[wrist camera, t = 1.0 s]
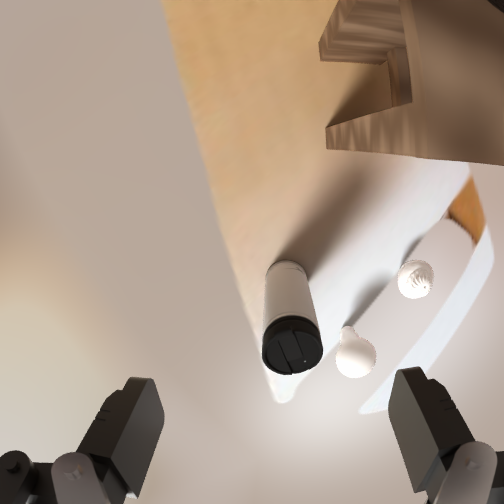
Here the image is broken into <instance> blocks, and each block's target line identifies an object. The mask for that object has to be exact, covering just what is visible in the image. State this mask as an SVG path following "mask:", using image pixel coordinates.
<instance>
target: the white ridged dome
mask: <svg viewBox="0 0 504 504" xmlns="http://www.w3.org/2000/svg"><path fill="white" fill-rule="evenodd" d="M432 283H433V270H432V268H431V266H430V265H429V264H428V263H426V262H424V261H419V260H412V261H409V262H406V263H404V265H402V266H401V268H400V270H399V273H398V287H399V290H400V292H401V293H402V294H403V295H404V296H406V297H408V298H419V297H422V296H425V295H426V294H428V293H429V290H431V287H432Z"/></svg>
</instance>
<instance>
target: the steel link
mask: <svg viewBox="0 0 504 504" xmlns="http://www.w3.org/2000/svg"><path fill="white" fill-rule="evenodd" d="M487 1H489V2H490V3H491V4H492V5H493V6H494V7H495V8H497V9H498V10H500V11H501V12H503V13H504V0H487Z"/></svg>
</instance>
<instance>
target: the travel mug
mask: <svg viewBox="0 0 504 504" xmlns="http://www.w3.org/2000/svg"><path fill="white" fill-rule="evenodd" d="M262 335H263V336H262V343H263V344H262V359H263V362H264V363H265V365H266V366H267V367H268V368H269V369H270V370H272V371H273V372H276V373H278V374H282V375H292V373H293V374H296V373H301V372H304V371H306V370H308V369H309V370H310V369H311V368H313V367H315V366H316V365H317V364H318V363H319V361H320V360H321V358H322V355H323V346H322V342H321V335H320V331H319V326H318V322H317V318H316V313H315V309H314V305H313V301H312V297H311V293H310V289H309V285H308V281H307V277H306V273H305V271H304V269H303V268H302V266H300V265H299V264H298V263H296V262H294V261H290V260H283V261H279V262H277V263H275V264H273V265H272V266H271V267H270V268H269V270H268V271H267V274H266V278H265V297H264V316H263V334H262Z"/></svg>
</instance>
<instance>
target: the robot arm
mask: <svg viewBox="0 0 504 504" xmlns="http://www.w3.org/2000/svg"><path fill="white" fill-rule="evenodd" d="M388 411H389V418H390V422H391V424H392V427H393V430H394V432H395V436H396V439H397V441H398V444H399V447H400V450H401V453H402V456H403V459H404V462H405V465H406V468H407V471H408V474H409V478H410V480H411V484H412V487H413V490H414V493H417V492H421V491H424V490H426V492H427V495H428V498H427V499H426V501H425V503H424V504H504V451H500V452H495V451H494V450H493V448H492V447H491V446H489V445H488V444H485V443H483V442H478V441H475V439H474V438H473V436H472V434H471V432H470V430H469V428H468V426H467V425H466V423H465V421H464V419H463V417H462V416H461V414H460V412H459V410H458V409H456V405H455V403H454V402H453V400H451V397H450V395H449V393H448V392H447V390H446V388H445V387H444V386H443V385H442V384H440V383H439V382H438V381H436V380H435V379H429V380H428V379H427V377H426V376H425V374H424V372H423V370H422V369H421V368H420V367H412V368H406V369H400V370H397V372H396V375H395V379H394V383H393V388H392V392H391V396H390V400H389V405H388ZM163 425H164V410H163V407H162V404H161V401H160V398H159V395H158V392H157V389H156V385H155V383H154V380H153V379H151V378H139V377H130V378H129V379H128V381H127V382H126V384H125V386H124V388H123V390H116V391H115V392H114V393H112V394H111V395H110V396H109V397H108V398H106V400H105V402H104V403H103V405H102V407H101V408H100V411H99V412H98V414H97V415H96V417H95V420H93V422H92V424H91V426H90V427H89V429H88V431H87V433H86V434H85V436H84V438H83V440H82V442H81V443H80V445H79V447H78V449H77V450H76V452H70V453H66V454H63V455H62V456H60V457H58V458H57V459H56V460H55V462H54V463H36V462H32V461H31V460H30V459H29V457H28V456H27V455H26V454H25V453H24V452H21V451H16V450H15V451H9V452H7V453H5V454H4V455H2V456H1V457H0V504H123V503H124V500H125V498H126V497H131V498H136V499H138V497H139V494H140V491H141V488H142V485H143V482H144V480H145V477H146V474H147V471H148V468H149V465H150V462H151V459H152V457H153V454H154V451H155V448H156V445H157V442H158V440H159V437H160V434H161V431H162V428H163Z"/></svg>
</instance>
